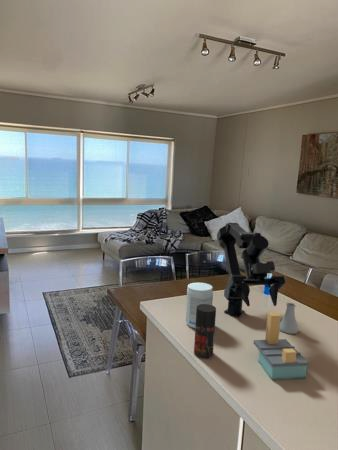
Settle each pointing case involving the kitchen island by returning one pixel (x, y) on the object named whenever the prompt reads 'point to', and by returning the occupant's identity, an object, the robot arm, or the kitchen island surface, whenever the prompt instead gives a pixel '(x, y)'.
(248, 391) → the kitchen island surface
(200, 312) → the deodorant
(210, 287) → the supplement tub
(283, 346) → the gray board with blocks
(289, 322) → the flask
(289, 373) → the tub
